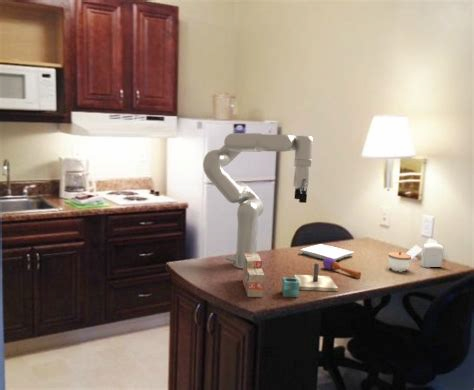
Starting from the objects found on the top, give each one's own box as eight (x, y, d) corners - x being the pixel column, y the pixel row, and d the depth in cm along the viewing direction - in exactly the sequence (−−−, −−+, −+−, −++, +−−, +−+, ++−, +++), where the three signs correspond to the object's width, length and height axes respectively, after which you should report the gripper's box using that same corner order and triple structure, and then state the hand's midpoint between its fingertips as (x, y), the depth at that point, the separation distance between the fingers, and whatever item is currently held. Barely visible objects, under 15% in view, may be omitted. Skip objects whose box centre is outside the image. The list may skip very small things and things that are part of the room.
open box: (283, 296, 199) (284, 282, 198) (281, 291, 205) (282, 277, 204) (298, 297, 200) (299, 282, 199) (296, 292, 206) (297, 278, 205)
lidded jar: (382, 266, 251) (384, 248, 249) (402, 266, 253) (404, 248, 252) (393, 273, 240) (395, 254, 239) (413, 273, 243) (415, 254, 241)
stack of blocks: (263, 297, 197) (265, 267, 196) (247, 297, 197) (249, 266, 195) (256, 280, 218) (258, 252, 217) (242, 279, 218) (243, 252, 216)
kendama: (355, 271, 226) (320, 258, 240) (354, 283, 228) (320, 269, 242) (362, 267, 230) (328, 254, 244) (362, 279, 232) (328, 265, 246)
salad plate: (354, 257, 267) (355, 251, 267) (334, 264, 251) (334, 257, 251) (320, 249, 281) (321, 243, 280) (299, 255, 265) (299, 249, 265)
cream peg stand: (299, 289, 209) (301, 267, 207) (293, 277, 224) (295, 257, 223) (337, 291, 209) (339, 269, 208) (329, 279, 225) (330, 258, 224)
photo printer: (422, 267, 254) (425, 244, 252) (419, 265, 258) (422, 242, 256) (442, 268, 253) (445, 245, 252) (439, 266, 258) (442, 243, 256)
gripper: (290, 161, 233) (288, 197, 235) (298, 164, 216) (296, 203, 218) (306, 162, 233) (304, 198, 236) (315, 165, 216) (312, 204, 219)
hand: (300, 200), depth 227 cm, fingers open, 9 cm apart
